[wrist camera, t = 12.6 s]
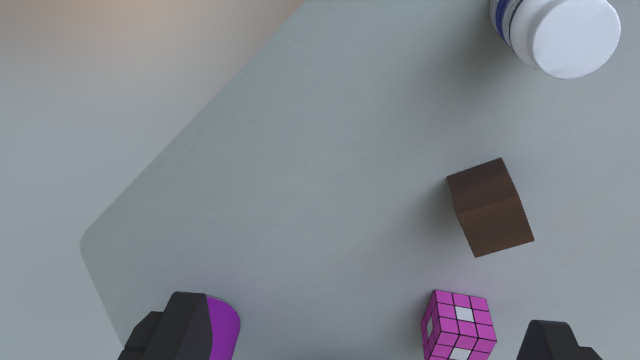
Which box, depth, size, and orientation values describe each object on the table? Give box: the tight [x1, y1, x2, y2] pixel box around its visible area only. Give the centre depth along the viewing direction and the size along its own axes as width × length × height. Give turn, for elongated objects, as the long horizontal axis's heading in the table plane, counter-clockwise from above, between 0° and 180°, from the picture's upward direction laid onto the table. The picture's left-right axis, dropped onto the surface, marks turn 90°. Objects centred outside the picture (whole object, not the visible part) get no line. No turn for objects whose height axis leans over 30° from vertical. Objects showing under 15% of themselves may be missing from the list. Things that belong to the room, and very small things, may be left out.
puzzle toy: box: [421, 290, 497, 360], centre depth 51 cm, size 6×6×6 cm
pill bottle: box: [490, 0, 621, 79], centre depth 31 cm, size 6×6×10 cm
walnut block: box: [447, 158, 534, 258], centre depth 42 cm, size 5×5×6 cm
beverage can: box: [206, 296, 240, 360], centre depth 52 cm, size 8×8×12 cm
